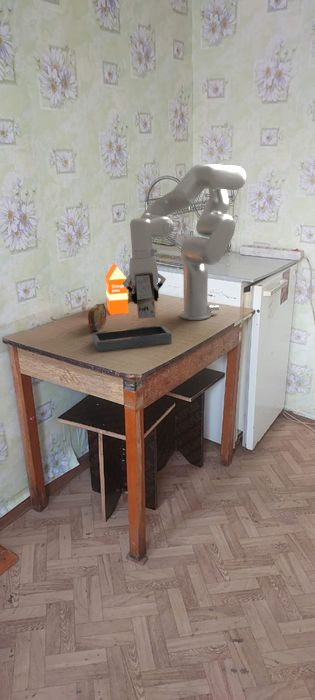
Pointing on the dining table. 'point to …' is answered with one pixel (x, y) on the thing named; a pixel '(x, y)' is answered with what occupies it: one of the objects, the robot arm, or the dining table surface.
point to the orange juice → (116, 291)
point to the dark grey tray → (131, 338)
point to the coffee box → (145, 295)
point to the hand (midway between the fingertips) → (145, 301)
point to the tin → (97, 317)
